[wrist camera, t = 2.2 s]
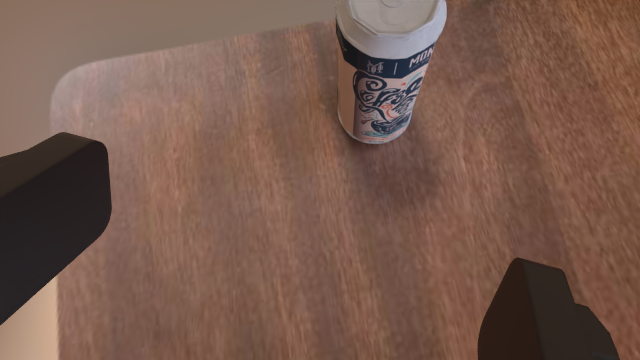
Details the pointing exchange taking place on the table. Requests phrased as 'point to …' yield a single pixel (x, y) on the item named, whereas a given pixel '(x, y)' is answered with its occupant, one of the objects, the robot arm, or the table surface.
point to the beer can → (383, 62)
